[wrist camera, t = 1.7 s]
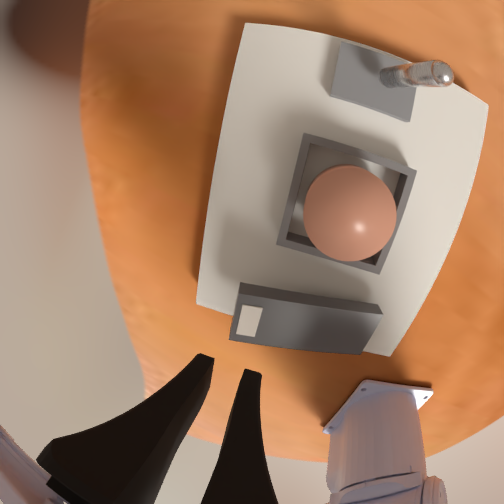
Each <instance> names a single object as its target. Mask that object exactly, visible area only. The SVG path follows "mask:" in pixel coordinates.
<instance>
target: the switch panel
mask: <svg viewBox="0 0 504 504" xmlns="http://www.w3.org/2000/svg"><path fill="white" fill-rule="evenodd" d="M409 63H412V62H410V61H407V60H405V59H403V58H400V57H398V56H395V55H393V54H390V53H387V52H385V51H382V50H379V49H376V48H373V47H370V46H367V45H364V44H361V43H357V42H354V41H351V40H347V39H343V38H339V37H335V36H331V35H327V34H323V33H318V32H313V31H308V30H303V29H297V28H290V27H283V26H276V25H267V24H256V23H245V26H244V30H243V34H242V38H241V42H240V46H239V50H238V54H237V58H236V62H235V67H234V71H233V75H232V80H231V84H230V89H229V93H228V98H227V103H226V108H225V113H224V118H223V123H222V128H221V133H220V138H219V144H218V149H217V155H216V160H215V166H214V172H213V178H212V184H211V190H210V197H209V203H208V210H207V217H206V224H205V231H204V238H203V246H202V254H201V262H200V270H199V279H198V288H197V298H196V304H199V305H201V306H204V307H207V308H210V309H213V310H216V311H219V312H222V313H225V314H228V315H231V316H233V313H234V308H235V304H236V299H237V294H238V289H239V285H240V282H243V283H248V284H254V285H259V286H265V287H271V288H276V289H282V290H288V291H294V292H300V293H306V294H313V295H319V296H325V297H332V298H338V299H345V300H352V301H359V302H366V303H373V304H378V305H379V307H380V309H381V311H382V313H383V317H382V319H381V321H380V322H379V324H378V326H377V328H376V329H375V331H374V333H373V335H372V336H371V338H370V340H369V341H368V343H367V345H366V346H365V348H364V349H363V351H365V352H369V353H374V354H379V355H384V356H389V357H390V356H391V354H392V353H393V351H394V350H395V348H396V347H397V345H398V344H399V342H400V341H401V339H402V338H403V336H404V334H405V333H406V331H407V330H408V328H409V326H410V325H411V323H412V321H413V320H414V318H415V316H416V315H417V313H418V311H419V309H420V308H421V306H422V304H423V302H424V300H425V299H426V297H427V295H428V293H429V291H430V289H431V287H432V285H433V283H434V281H435V279H436V277H437V275H438V273H439V271H440V269H441V267H442V265H443V263H444V260H445V258H446V256H447V254H448V251H449V249H450V247H451V244H452V242H453V239H454V237H455V234H456V232H457V229H458V227H459V224H460V221H461V219H462V216H463V213H464V210H465V207H466V204H467V201H468V198H469V195H470V191H471V188H472V185H473V181H474V178H475V174H476V170H477V166H478V162H479V158H480V153H481V149H482V144H483V139H484V133H485V127H486V121H487V114H488V106H489V105H488V104H486V103H485V102H483V101H482V100H480V99H479V98H477V97H476V96H474V95H473V94H471V93H469V92H468V91H466V90H464V89H463V88H461V87H459V86H458V85H456V84H454V83H452V84H451V85H450V86H448V87H406V88H387V87H384V86H383V85H382V84H381V83H380V82H379V79H378V73H379V71H380V70H381V69H382V68H385V67H391V66H396V65H402V64H409ZM339 164H352V165H356V166H359V167H362V168H364V169H366V170H367V171H369V172H371V173H372V174H374V175H375V176H377V177H378V178H379V179H381V180H382V181H383V182H384V183H385V184H386V186H387V187H388V188H389V190H390V192H391V193H392V195H393V198H394V201H395V205H396V212H397V217H396V225H395V228H394V231H393V234H392V236H391V238H390V239H389V241H388V242H387V244H386V245H385V246H384V247H383V248H382V249H381V250H380V251H378V252H377V253H376V254H374V255H372V256H371V257H368V258H366V259H363V260H359V261H341V260H336V259H334V258H331V257H329V256H327V255H325V254H324V253H322V252H321V251H320V250H319V249H317V248H316V247H315V245H314V244H313V243H312V242H311V240H310V239H309V237H308V235H307V232H306V230H305V226H304V221H303V209H304V204H305V199H306V194H307V191H308V188H309V186H310V184H311V182H312V181H313V180H314V178H315V177H316V176H317V175H318V174H319V173H321V172H322V171H323V170H325V169H327V168H329V167H331V166H334V165H339Z"/></svg>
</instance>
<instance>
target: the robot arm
mask: <svg viewBox="0 0 504 504" xmlns="http://www.w3.org/2000/svg"><path fill="white" fill-rule="evenodd" d="M214 359H215V358H212V357H209V356H206V355H204V354H201V353H200V354H197V355H196V356H195V357H194V359H193V360H192V361H191V362H190V363H189V364H188V365H187V366H186V367H185V368H184V369H183V370H182V371H181V372H180V373H179V374H177V375H176V376H175V377H174V378H173V379H172V380H171V381H169V382H168V383H167V384H166V385H165V386H163V387H162V388H161V389H160V390H158V391H157V392H156V393H154V394H153V395H151V396H150V397H149V398H147V399H146V400H145V401H143V402H142V403H140V404H138V405H137V406H135V407H134V408H132V409H130V410H129V411H127V412H125V413H123V414H121V415H119V416H117V417H115V418H114V419H111V420H110V421H107V422H105V423H103V424H100V425H98V426H95V427H93V428H90V429H87V430H84V431H82V432H79V433H75V434H71V435H67V436H64V437H60V438H56V439H53V440H52V441H51V442H50V443H49V444H48V445H47V446H46V447H45V448H44V449H43V451H42V452H41V453H40V455H39V456H38V457H37V459H36V461H37V463H38V464H39V465H40V466H41V467H42V468H41V467H40V466H39V465H38V464H37V463H36V462H35V461H34V460H33V459H31V458H30V457H29V456H28V455H27V454H26V453H25V452H24V451H23V450H22V449H21V448H20V447H19V446H18V445H17V444H16V443H15V442H14V439H13V438H12V437H11V436H10V435H9V434H8V433H7V432H6V430H5V429H4V428H3V427H2V426H1V425H0V499H1V501H2V502H3V503H4V504H64V503H63V501H64V502H66V503H67V504H154V502H155V500H156V497H157V495H158V492H159V490H160V488H161V485H162V483H163V480H164V478H165V476H166V473H167V471H168V469H169V467H170V464H171V462H172V460H173V458H174V456H175V453H176V451H177V449H178V448H179V446H180V444H181V442H182V440H183V439H184V437H185V435H186V434H187V432H188V430H189V428H190V427H191V425H192V423H193V421H194V420H195V418H196V416H197V414H198V412H199V411H200V409H201V407H202V405H203V402H204V400H205V398H206V395H207V393H208V390H209V388H210V383H211V377H212V371H213V365H214ZM261 379H262V375H261V373H259V372H255V371H252V370H249V369H245V370H244V372H243V375H242V378H241V380H240V383H239V386H238V390H237V393H236V396H235V399H234V403H233V406H232V409H231V412H230V415H229V419H228V423H227V427H226V431H225V435H224V439H223V443H222V446H221V450H220V454H219V458H218V461H217V464H216V467H215V469H214V471H213V474H212V477H211V479H210V482H209V484H208V487H207V489H206V492H205V494H204V497H203V499H202V502H201V504H278V501H277V498H276V495H275V492H274V489H273V486H272V482H271V479H270V475H269V471H268V467H267V462H266V458H265V452H264V446H263V439H262V431H261V418H260V387H261ZM432 394H433V389H432V388H423V387H415V386H407V385H399V384H392V383H386V382H380V381H374V380H364V381H362V382H361V383H360V385H359V386H358V387H357V388H356V390H355V391H354V392H353V394H352V395H351V396H350V397H349V399H348V400H347V401H346V402H345V404H344V405H343V406H342V407H341V408H340V410H339V411H338V412H337V413H336V414H335V415H334V417H333V418H332V419H331V420H330V421H329V422H328V423H327V425H326V426H325V427H324V428H323V431H322V432H323V433H326V434H331V435H330V447H329V457H328V467H327V475H326V482H327V486H328V488H329V490H330V491H331V493H332V494H331V495H330V502H328V503H326V504H447V495H446V490H445V485H444V482H443V481H442V480H441V479H439V478H437V477H436V476H431V477H428V476H427V475H426V464H425V454H424V446H423V438H422V432H421V425H420V420H419V414H418V409H419V408H420V407H421V406H422V405H423V404H424V403H425V402H426V401H427V400H428V399H429V398H430V397H431V396H432ZM45 470H46V471H47V472H48V473H47V472H46V471H45Z"/></svg>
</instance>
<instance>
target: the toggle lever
mask: <svg viewBox="0 0 504 504" xmlns="http://www.w3.org/2000/svg"><path fill="white" fill-rule="evenodd" d="M378 79H379V82H380V83H381V84H382V85H383V86H384V87H387V88H406V87H448V86H450V85H451V84H452V83H453V81H454V73H453V70H452V68H451V67H450V66H449V65H448V64H447V63H445V62H444V61H441V60H432V61H424V62H416V63H409V64H402V65H396V66H391V67H385V68H382V69H381V70H380V71H379V73H378Z"/></svg>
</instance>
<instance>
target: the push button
mask: <svg viewBox="0 0 504 504" xmlns="http://www.w3.org/2000/svg"><path fill="white" fill-rule="evenodd" d="M396 217H397V212H396V205H395V201H394V198H393V195H392V193H391V192H390V190H389V188H388V187H387V186H386V184H385V183H384V182H383V181H382V180H381V179H379V178H378V177H377V176H375V175H374V174H372V173H371V172H369V171H367V170H366V169H364V168H362V167H359V166H356V165H352V164H339V165H334V166H331V167H329V168H327V169H325V170H323V171H322V172H321V173H319V174H318V175H317V176H316V177H315V178H314V180H313V181H312V182H311V184H310V186H309V188H308V191H307V194H306V199H305V204H304V209H303V221H304V226H305V230H306V232H307V235H308V237H309V239H310V240H311V242H312V243H313V244H314V245H315V247H316V248H317V249H319V250H320V251H321V252H322V253H324V254H325V255H327V256H329V257H331V258H334V259H336V260H341V261H359V260H363V259H366V258H368V257H371V256H372V255H374V254H376V253H377V252H378V251H380V250H381V249H382V248H383V247H384V246H385V245H386V244H387V242H388V241H389V239H390V238H391V236H392V234H393V231H394V228H395V225H396Z"/></svg>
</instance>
